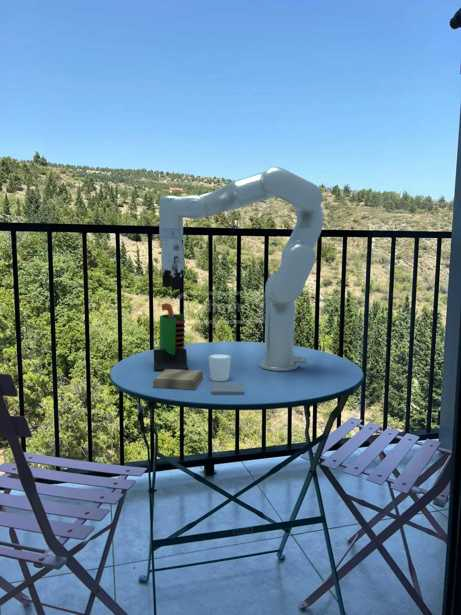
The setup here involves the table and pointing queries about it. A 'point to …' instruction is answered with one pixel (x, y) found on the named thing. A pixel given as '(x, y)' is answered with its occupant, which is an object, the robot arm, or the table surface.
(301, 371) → the table surface
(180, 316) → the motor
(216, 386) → the slate coaster
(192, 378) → the stand
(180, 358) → the handheld gaming console
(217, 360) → the white cup
